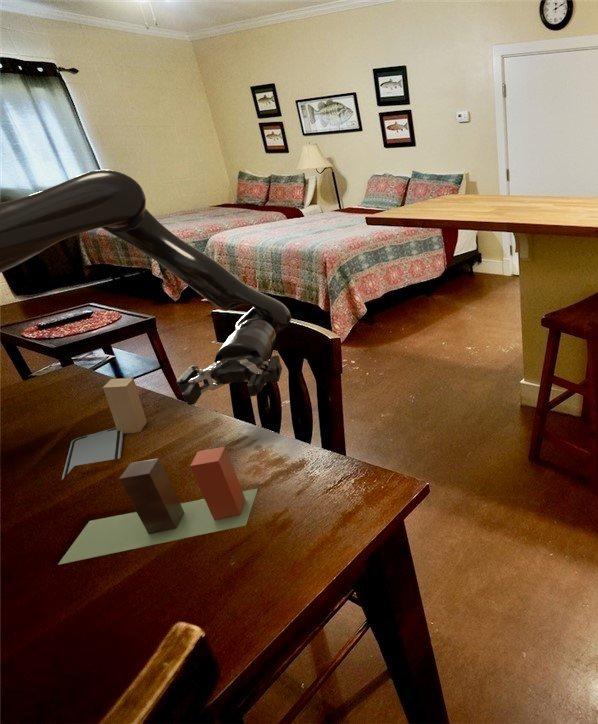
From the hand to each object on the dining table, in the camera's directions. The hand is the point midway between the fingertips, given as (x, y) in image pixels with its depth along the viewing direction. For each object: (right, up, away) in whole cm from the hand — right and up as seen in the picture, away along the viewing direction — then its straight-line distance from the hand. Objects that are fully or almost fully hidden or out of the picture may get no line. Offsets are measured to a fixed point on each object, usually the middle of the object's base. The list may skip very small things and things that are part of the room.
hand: (220, 395), depth 73 cm
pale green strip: (-4, -19, -5) cm, 20 cm away
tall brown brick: (-4, -18, -5) cm, 19 cm away
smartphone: (-29, -12, +10) cm, 33 cm away
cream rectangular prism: (-29, -8, +18) cm, 35 cm away
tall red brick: (+4, -17, -3) cm, 17 cm away
